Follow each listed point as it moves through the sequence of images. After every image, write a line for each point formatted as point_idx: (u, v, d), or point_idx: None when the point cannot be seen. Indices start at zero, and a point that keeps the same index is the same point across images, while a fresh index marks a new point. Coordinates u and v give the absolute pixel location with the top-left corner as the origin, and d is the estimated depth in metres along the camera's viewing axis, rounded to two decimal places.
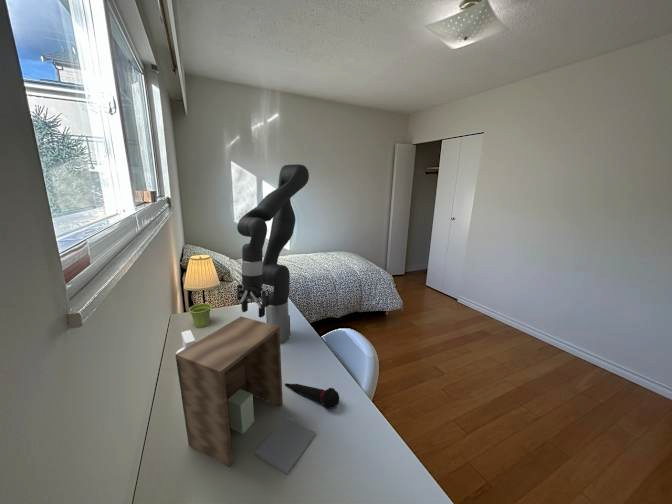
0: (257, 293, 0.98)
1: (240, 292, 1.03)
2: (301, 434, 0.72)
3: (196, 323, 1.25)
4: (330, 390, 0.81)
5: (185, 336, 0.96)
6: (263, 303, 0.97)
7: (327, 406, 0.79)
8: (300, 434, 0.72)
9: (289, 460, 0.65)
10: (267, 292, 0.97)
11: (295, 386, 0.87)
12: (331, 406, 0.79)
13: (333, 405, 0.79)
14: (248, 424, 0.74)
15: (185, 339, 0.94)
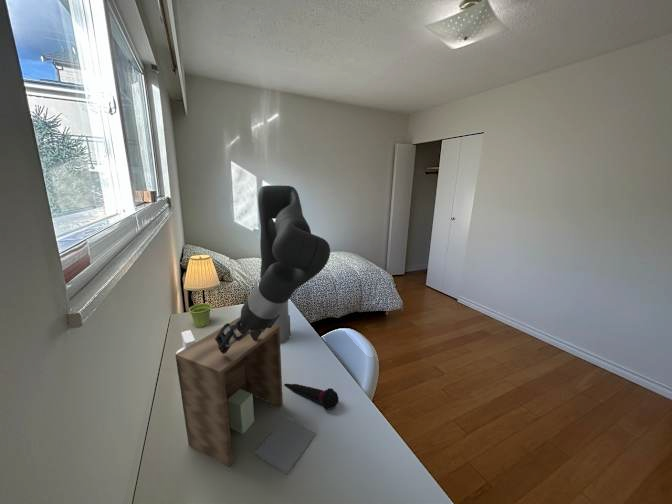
0: None
1: None
2: (301, 434, 0.72)
3: (196, 323, 1.25)
4: (329, 391, 0.81)
5: (185, 336, 0.96)
6: (271, 325, 0.68)
7: (326, 407, 0.79)
8: (300, 434, 0.72)
9: (289, 460, 0.65)
10: None
11: (294, 386, 0.87)
12: (330, 407, 0.79)
13: (332, 406, 0.79)
14: (248, 424, 0.74)
15: (185, 339, 0.94)
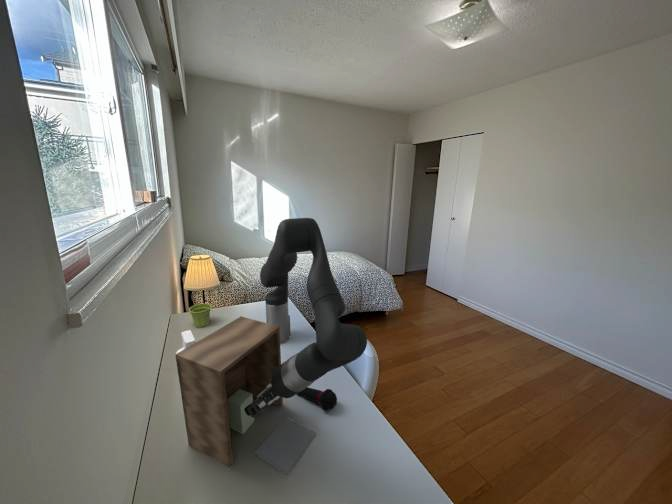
0: None
1: None
2: (301, 434, 0.72)
3: (196, 323, 1.25)
4: (327, 391, 0.80)
5: (185, 336, 0.96)
6: None
7: (324, 407, 0.79)
8: (300, 434, 0.72)
9: (289, 460, 0.65)
10: None
11: None
12: (328, 408, 0.79)
13: (330, 407, 0.79)
14: (248, 424, 0.74)
15: (185, 339, 0.94)
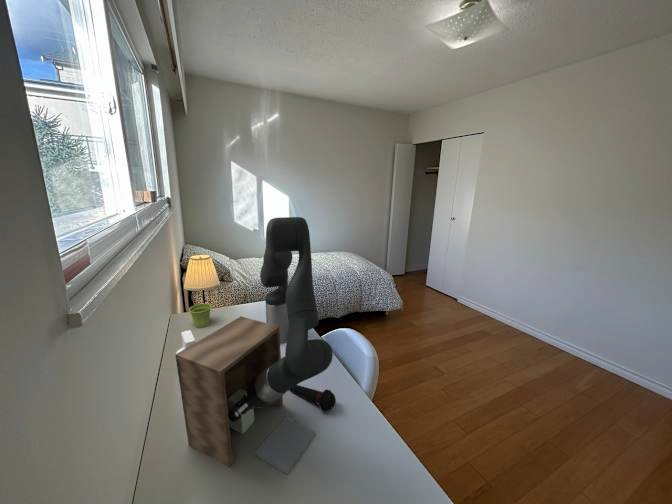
0: None
1: None
2: (301, 434, 0.72)
3: (196, 323, 1.25)
4: (326, 392, 0.80)
5: (185, 336, 0.96)
6: None
7: (323, 408, 0.79)
8: (300, 434, 0.72)
9: (289, 460, 0.65)
10: None
11: None
12: (327, 408, 0.78)
13: (329, 407, 0.78)
14: (248, 424, 0.74)
15: (185, 339, 0.94)
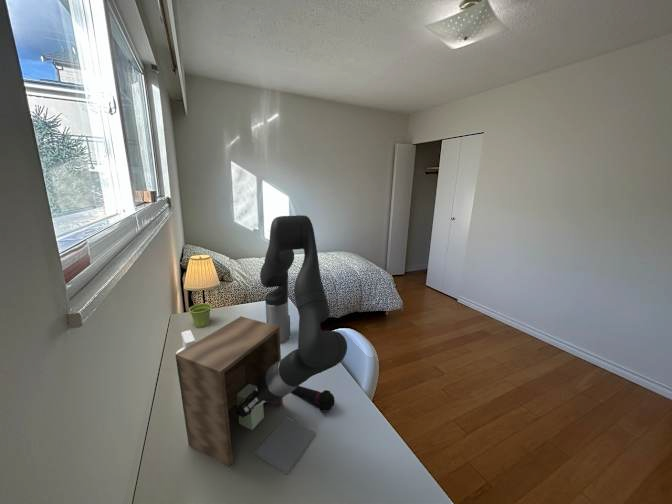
0: None
1: None
2: (301, 434, 0.72)
3: (196, 323, 1.25)
4: (325, 392, 0.80)
5: (185, 336, 0.96)
6: None
7: (321, 409, 0.78)
8: (300, 434, 0.72)
9: (289, 460, 0.65)
10: None
11: None
12: (325, 409, 0.78)
13: (327, 408, 0.78)
14: (258, 420, 0.72)
15: (185, 339, 0.94)
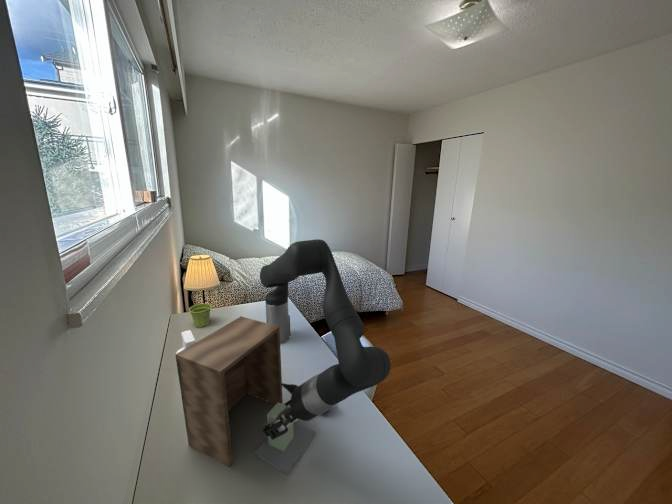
0: None
1: None
2: (301, 434, 0.72)
3: (196, 323, 1.25)
4: None
5: (185, 336, 0.96)
6: None
7: None
8: (300, 434, 0.72)
9: (289, 460, 0.65)
10: None
11: (291, 387, 0.87)
12: None
13: None
14: (288, 441, 0.69)
15: (185, 339, 0.94)
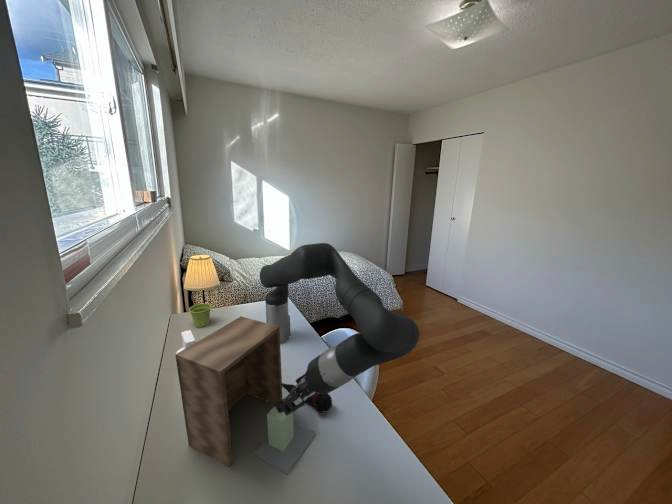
0: None
1: None
2: (301, 434, 0.72)
3: (196, 323, 1.25)
4: (322, 394, 0.79)
5: (185, 336, 0.96)
6: None
7: (318, 410, 0.78)
8: (300, 434, 0.72)
9: (289, 460, 0.65)
10: None
11: (290, 387, 0.87)
12: (322, 410, 0.78)
13: (324, 409, 0.78)
14: (288, 441, 0.69)
15: (185, 339, 0.94)
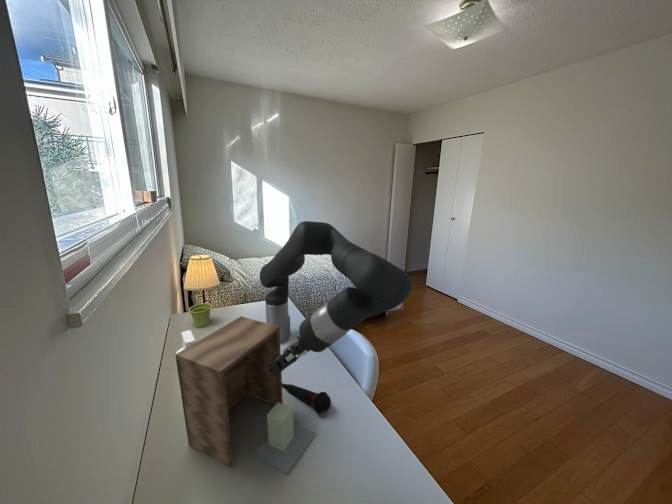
0: None
1: None
2: (301, 434, 0.72)
3: (196, 323, 1.25)
4: (321, 394, 0.79)
5: (185, 336, 0.96)
6: None
7: (317, 410, 0.78)
8: (300, 434, 0.72)
9: (289, 460, 0.65)
10: None
11: (289, 387, 0.86)
12: (321, 411, 0.78)
13: (323, 410, 0.77)
14: (288, 441, 0.69)
15: (185, 339, 0.94)
